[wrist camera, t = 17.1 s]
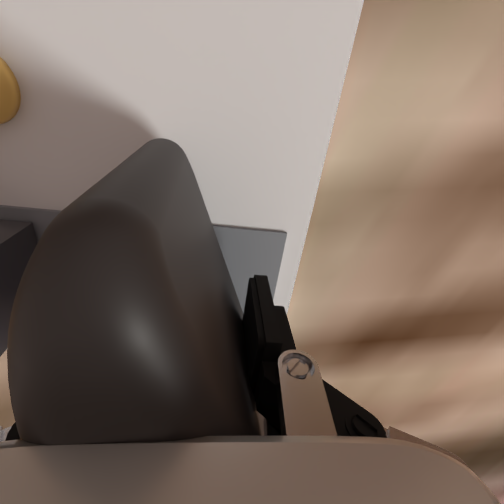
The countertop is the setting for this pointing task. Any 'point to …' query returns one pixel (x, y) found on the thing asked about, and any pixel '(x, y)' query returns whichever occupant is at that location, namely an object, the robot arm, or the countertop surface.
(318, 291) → the countertop surface
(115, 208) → the charcoal curved rounded device
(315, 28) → the panel board
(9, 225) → the block
